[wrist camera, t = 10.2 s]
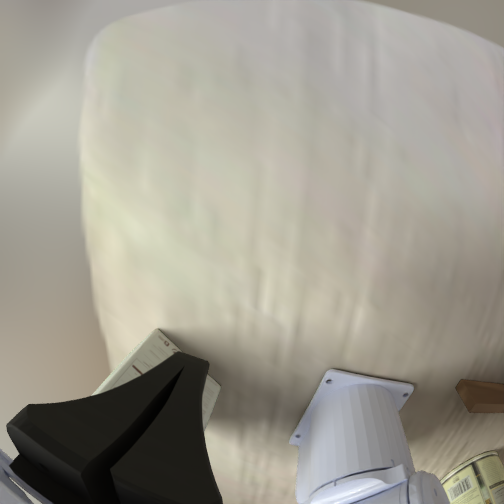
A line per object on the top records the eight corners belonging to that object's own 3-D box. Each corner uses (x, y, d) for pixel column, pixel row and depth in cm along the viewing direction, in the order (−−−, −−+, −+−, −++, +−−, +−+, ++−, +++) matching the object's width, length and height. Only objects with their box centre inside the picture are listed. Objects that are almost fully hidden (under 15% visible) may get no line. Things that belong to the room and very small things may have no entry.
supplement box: (175, 416, 25) (120, 518, 12) (117, 364, 24) (37, 454, 12) (225, 386, 22) (175, 516, 10) (158, 324, 22) (60, 434, 10)
